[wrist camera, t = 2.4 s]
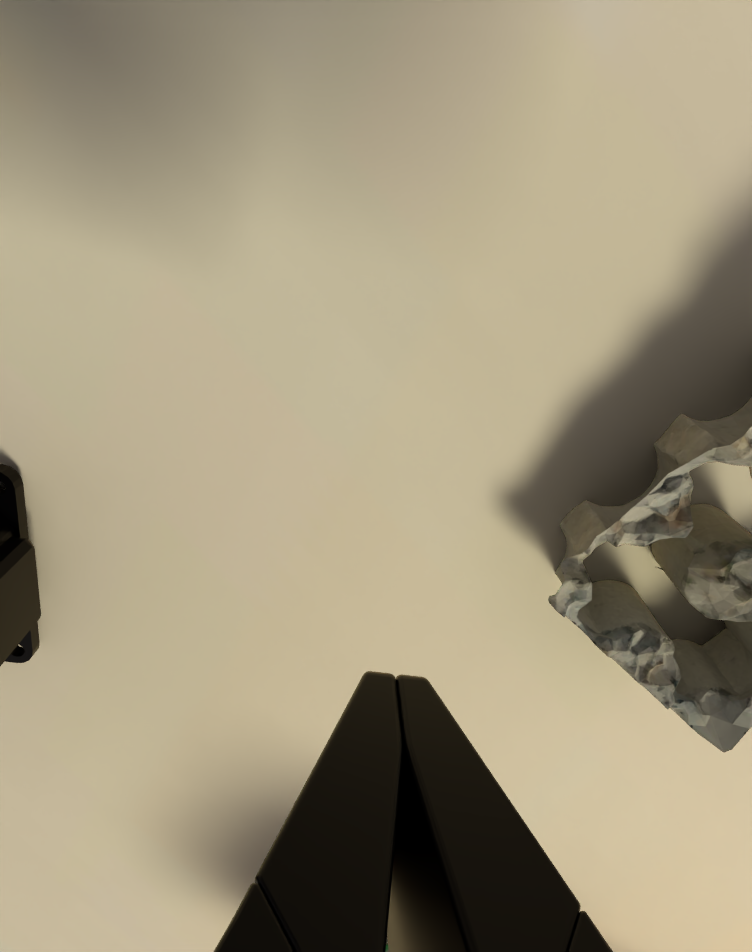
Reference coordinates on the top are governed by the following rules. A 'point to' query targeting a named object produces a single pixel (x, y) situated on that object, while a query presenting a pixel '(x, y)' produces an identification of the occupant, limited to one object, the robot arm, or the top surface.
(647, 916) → the top surface
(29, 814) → the top surface
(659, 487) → the egg carton
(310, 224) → the top surface
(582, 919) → the robot arm
